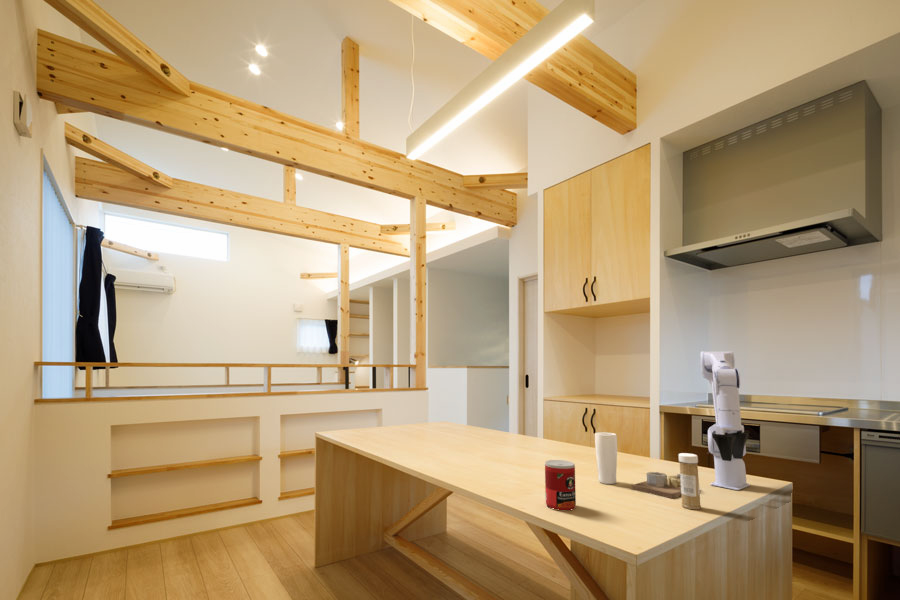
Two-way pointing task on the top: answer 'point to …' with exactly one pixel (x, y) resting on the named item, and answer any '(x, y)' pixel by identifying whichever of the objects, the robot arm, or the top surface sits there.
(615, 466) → the drinking glass
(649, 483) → the loose gear
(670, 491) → the gear board
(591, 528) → the top surface
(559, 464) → the canned food
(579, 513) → the top surface
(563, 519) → the top surface
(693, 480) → the sprinkles bottle
